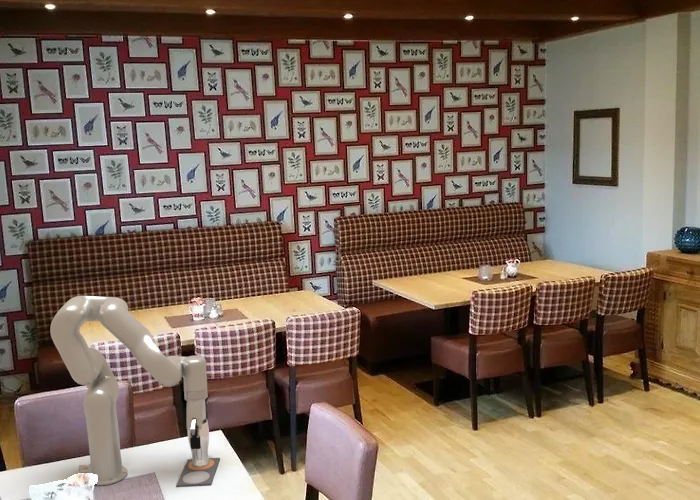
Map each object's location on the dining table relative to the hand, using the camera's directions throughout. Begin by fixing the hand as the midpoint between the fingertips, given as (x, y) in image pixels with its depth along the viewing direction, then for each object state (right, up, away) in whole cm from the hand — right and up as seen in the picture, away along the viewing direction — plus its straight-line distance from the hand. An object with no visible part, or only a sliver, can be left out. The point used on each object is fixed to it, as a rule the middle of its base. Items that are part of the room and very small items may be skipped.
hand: (198, 442), depth 238 cm
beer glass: (+1, -8, +1) cm, 8 cm away
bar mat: (+1, -9, -3) cm, 10 cm away
